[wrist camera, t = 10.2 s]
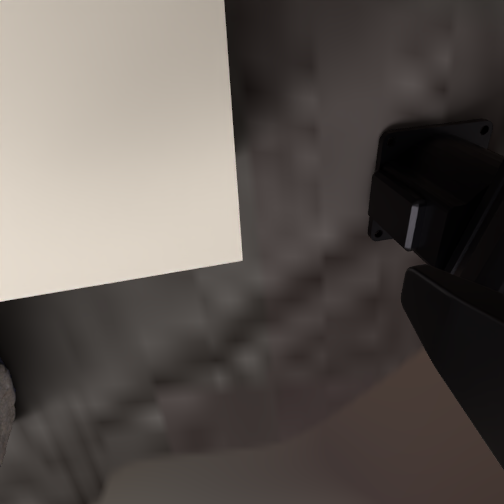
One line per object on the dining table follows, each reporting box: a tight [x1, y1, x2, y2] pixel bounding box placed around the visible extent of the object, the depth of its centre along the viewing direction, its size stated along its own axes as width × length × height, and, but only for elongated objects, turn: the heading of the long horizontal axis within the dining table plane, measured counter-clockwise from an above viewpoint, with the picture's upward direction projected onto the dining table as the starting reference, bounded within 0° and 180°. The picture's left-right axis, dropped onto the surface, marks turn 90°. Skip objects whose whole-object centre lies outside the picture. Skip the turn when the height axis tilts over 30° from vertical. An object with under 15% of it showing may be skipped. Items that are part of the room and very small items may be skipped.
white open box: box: [0, 0, 243, 302], centre depth 14 cm, size 9×10×8 cm
